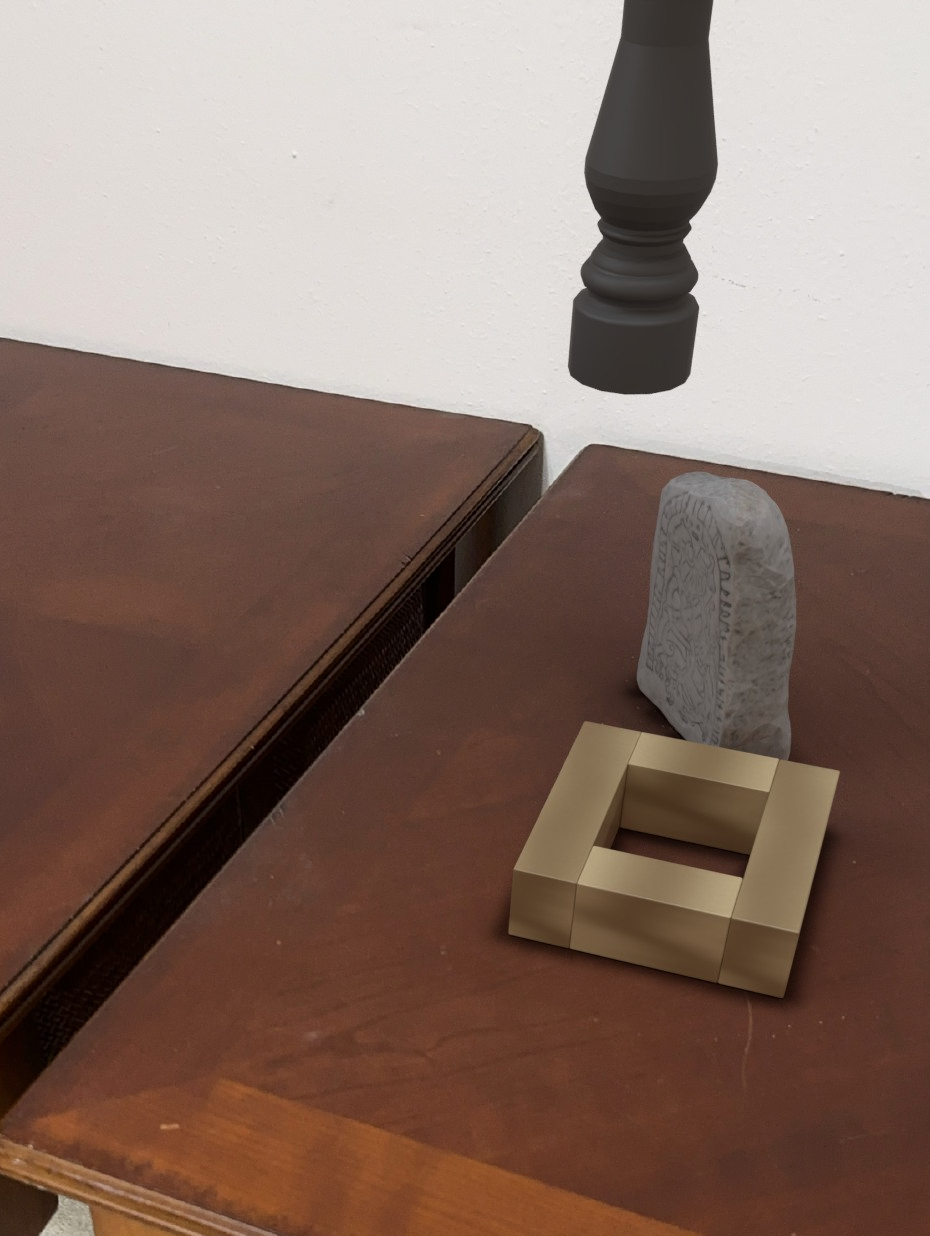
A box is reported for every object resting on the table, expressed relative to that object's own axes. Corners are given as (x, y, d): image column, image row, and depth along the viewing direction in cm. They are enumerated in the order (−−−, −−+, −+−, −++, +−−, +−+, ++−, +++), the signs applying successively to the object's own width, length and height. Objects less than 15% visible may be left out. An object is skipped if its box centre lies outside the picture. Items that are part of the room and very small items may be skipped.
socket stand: (824, 834, 78) (840, 770, 76) (783, 999, 69) (799, 932, 67) (577, 784, 82) (584, 720, 79) (507, 934, 73) (513, 868, 70)
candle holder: (658, 404, 75) (739, -255, 58) (546, 378, 77) (591, -261, 60) (710, 362, 79) (800, -268, 61) (601, 338, 81) (659, -274, 64)
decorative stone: (612, 689, 88) (642, 436, 78) (703, 669, 90) (744, 418, 80) (706, 793, 81) (753, 528, 71) (804, 770, 82) (864, 507, 72)
